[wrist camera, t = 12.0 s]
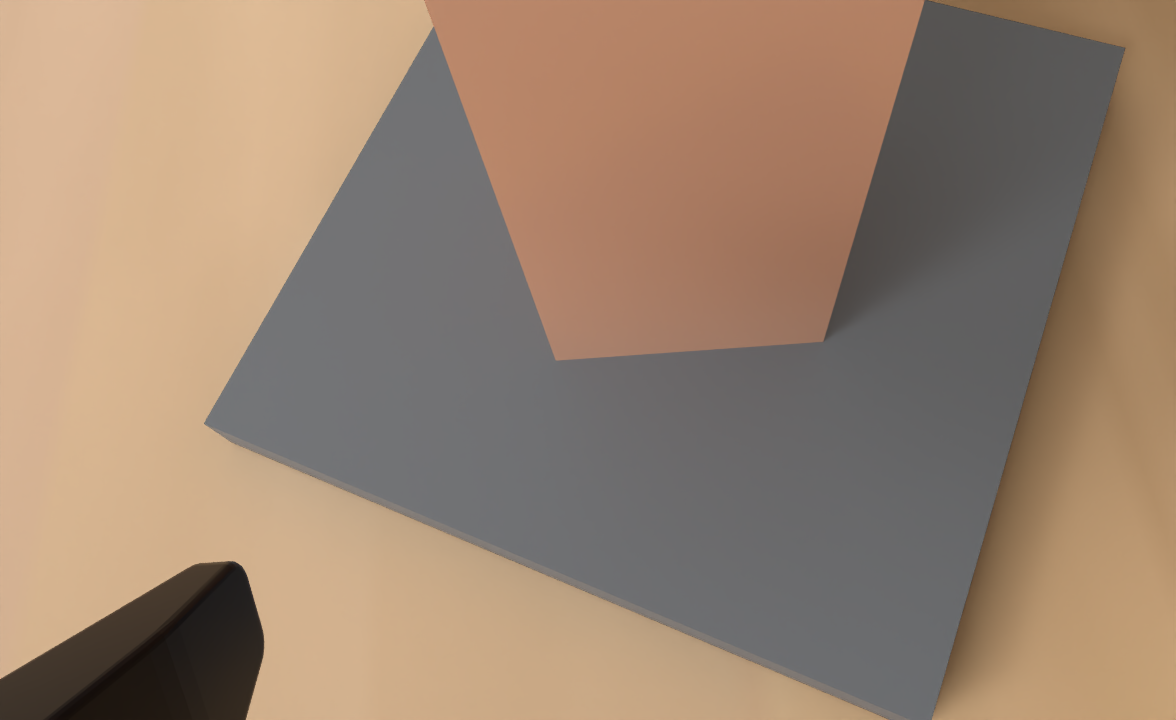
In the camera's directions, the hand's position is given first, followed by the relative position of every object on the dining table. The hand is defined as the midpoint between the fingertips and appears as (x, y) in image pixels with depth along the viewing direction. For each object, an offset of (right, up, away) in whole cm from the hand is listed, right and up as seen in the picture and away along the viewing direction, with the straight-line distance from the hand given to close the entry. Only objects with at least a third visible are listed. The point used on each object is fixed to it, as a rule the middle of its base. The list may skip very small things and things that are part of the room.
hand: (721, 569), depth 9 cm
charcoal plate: (+1, +4, +11) cm, 12 cm away
